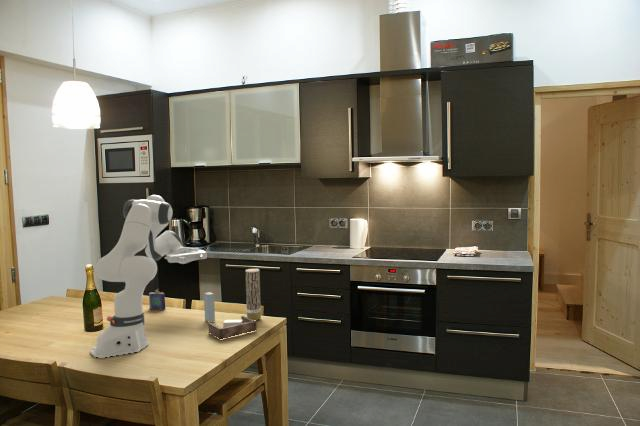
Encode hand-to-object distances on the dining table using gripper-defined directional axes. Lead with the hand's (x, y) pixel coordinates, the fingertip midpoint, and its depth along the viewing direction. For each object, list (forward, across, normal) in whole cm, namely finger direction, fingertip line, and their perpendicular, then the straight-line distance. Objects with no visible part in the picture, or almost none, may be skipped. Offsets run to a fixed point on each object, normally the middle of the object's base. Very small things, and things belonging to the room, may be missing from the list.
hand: (193, 258), depth 253 cm
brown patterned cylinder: (+25, +20, +30) cm, 44 cm away
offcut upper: (+38, +2, +27) cm, 47 cm away
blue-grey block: (+13, +2, +30) cm, 33 cm away
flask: (-27, -10, +30) cm, 42 cm away
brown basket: (+37, +2, +30) cm, 48 cm away
